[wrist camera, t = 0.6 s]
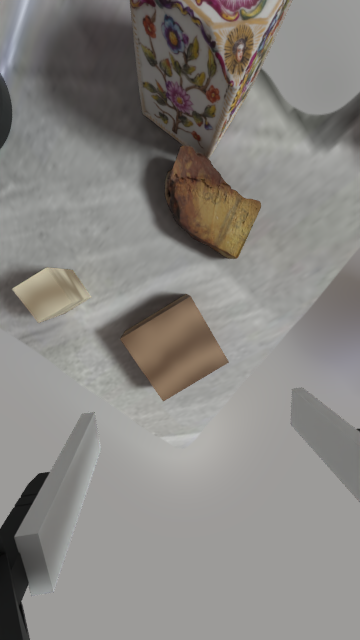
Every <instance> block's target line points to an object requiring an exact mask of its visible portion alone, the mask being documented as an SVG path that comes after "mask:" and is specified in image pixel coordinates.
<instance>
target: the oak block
mask: <svg viewBox="0 0 360 640" xmlns="http://www.w3.org/2000/svg"><path fill="white" fill-rule="evenodd" d="M13 291H14V292H15V293H16V295H17V296H18V297H19V299H20V300H21V301H22V302H23V304H24V305H25V306H26V308H27V309H28V310H29V312H30V313H31V314H32V315H33V317H34V318H35V319H36V321H37V322H38V323H40V322H43V321H46V320H48V319H51V318H54V317H57V316H59V315H62V314H65V313H67V312H68V311H70V310H72V309H73V308H75V307H76V306H78V305H80V304H81V303H83V302H85V301H86V300H88V299H90V298H91V296H90V294H89V293H88V292H87V290H86V289H85V287H84V286H83V284H82V283H81V281H80V280H79V278H78V277H77V276H76V274H75V273H74V271H73V270H68V269H58V268H48V267H47V268H45V269H43V270H42V271H40V272H39V273H37V274H35V275H34V276H32V277H30V278H29V279H27V280H26V281H24V282H22V283H21V284H19V285H17V286H16V287H14V288H13Z"/></svg>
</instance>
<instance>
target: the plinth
mask: <svg viewBox="0 0 360 640" xmlns="http://www.w3.org/2000/svg"><path fill="white" fill-rule="evenodd" d="M120 340H121V341H122V343H123V344H124V345H125V347H126V348H127V350H128V351H129V353H130V354H131V356H132V357H133V358H134V360H135V361H136V363H137V364H138V366H139V367H140V369H141V370H142V371H143V373H144V374H145V376H146V377H147V379H148V380H149V382H150V383H151V384H152V386H153V387H154V389H155V390H156V392H157V393H158V395H159V396H160V397H161V399H162V400H163V401H165V400H166V399H168V398H170V397H171V396H173V395H175V394H177V393H178V392H180V391H182V390H183V389H185V388H187V387H188V386H190V385H192V384H193V383H195V382H197V381H198V380H200V379H202V378H203V377H205V376H207V375H208V374H210V373H212V372H213V371H215V370H217V369H218V368H220V367H222V366H224V365H225V364H227V363H229V362H228V360H227V358H226V356H225V355H224V353H223V351H222V349H221V348H220V346H219V344H218V343H217V341H216V339H215V337H214V336H213V334H212V332H211V331H210V329H209V327H208V325H207V324H206V322H205V320H204V319H203V317H202V315H201V313H200V312H199V310H198V308H197V307H196V305H195V303H194V301H193V300H192V298H191V296H189V295H187V294H185V295H184V296H182V297H181V298H179V299H177V300H176V301H174V302H172V303H171V304H169V305H167V306H166V307H164V308H162V309H161V310H159V311H157V312H156V313H154V314H152V315H151V316H149V317H148V318H146V319H144V320H143V321H141V322H139V323H138V324H136V325H134V326H133V327H131V328H129V329H128V330H126V331H125V332H124V334H123V335H122V337H121V338H120Z"/></svg>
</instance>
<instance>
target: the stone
mask: <svg viewBox="0 0 360 640" xmlns="http://www.w3.org/2000/svg"><path fill="white" fill-rule="evenodd" d="M165 197H166V200H167V203H168V206H169V207H170V211H171V212H172V213H173V216H174V218H175V220H176V222H177V223H178V225H179V226H181V227H182V228H183V229H184V230H185V231H186V232H188V233H189V234H190V236H191V237H193V238H194V239H195V240H197V241H199V242H202V243H204V244H206V245H208V246H210V247H211V248H213V249H214V250H215V251H217V252H219V253H220V254H221V255H223V256H225V257H227V258H228V259H236V258H238V256H239V254H240V252H241V250H242V247H243V245H244V243H245V241H246V239H247V237H248V235H249V232H250V230H251V228H252V226H253V223H254V221H255V219H256V217H257V215H258V212H259V210H260V208H261V203H260V202H259V201H257V200H253V199H246V198H243V197H242V196H241V195H240V194H238V192H237V191H235V190H232V189H231V186H229V185H228V184H227V183H226V182H225V181H224V180H223V178H222V177H221V174H220V173H219V172H218V171H217V170H216V169H215V168H214V167H213V165H212V164H211V161H210V160H209V159H208V158H207V157H206V156H204V155H203V154H202V153H196V152H195V151H194V149H193V147H190V146H186V145H184V146H180V149H179V153H178V155H177V157H176V161H175V163H174V166H173V168H172V169H171V170H170V171H168V173H167V176H166V179H165Z"/></svg>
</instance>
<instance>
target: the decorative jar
mask: <svg viewBox="0 0 360 640" xmlns="http://www.w3.org/2000/svg"><path fill="white" fill-rule="evenodd" d="M291 3H292V0H130V9H131V18H132V29H133V37H134V48H135V58H136V68H137V77H138V85H139V94H140V101H141V108H142V114H143V115H145V116H146V117H148V118H149V119H150V120H152V121H153V122H154V123H155V124H156V125H158V126H159V127H160V128H162V129H163V130H164V131H165V132H167V133H168V134H169V135H170V136H172V137H173V138H174V139H176V140H177V141H178V142H179V143H181V144H182V145H183V146H184V145H186V146H190V147H193V149H194V151H195V152H196V153H202V154H203V155H204V156H206V157H207V158H208V159H209V158H210V156H211V155H212V153H213V152H214V150H215V148H216V146H217V145H218V143H219V141H220V140H221V138H222V137H223V135H224V133H225V131H226V130H227V128H228V127H229V125H230V123H231V122H232V120H233V118H234V117H235V115H236V113H237V111H238V110H239V108H240V106H241V105H242V103H243V101H244V100H245V98H246V96H247V94H248V93H249V91H250V89H251V88H252V86H253V84H254V82H255V80H256V77H257V75H258V73H259V71H260V69H261V67H262V65H263V63H264V61H265V59H266V57H267V54H268V52H269V50H270V48H271V46H272V44H273V41H274V40H275V37H276V35H277V33H278V31H279V29H280V27H281V25H282V22H283V20H284V18H285V16H286V13H287V11H288V9H289V7H290V4H291Z"/></svg>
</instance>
